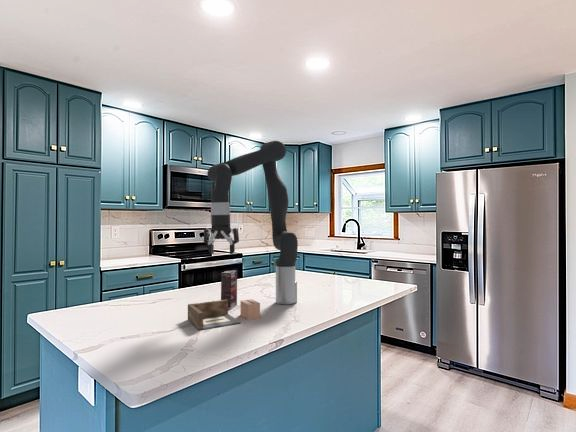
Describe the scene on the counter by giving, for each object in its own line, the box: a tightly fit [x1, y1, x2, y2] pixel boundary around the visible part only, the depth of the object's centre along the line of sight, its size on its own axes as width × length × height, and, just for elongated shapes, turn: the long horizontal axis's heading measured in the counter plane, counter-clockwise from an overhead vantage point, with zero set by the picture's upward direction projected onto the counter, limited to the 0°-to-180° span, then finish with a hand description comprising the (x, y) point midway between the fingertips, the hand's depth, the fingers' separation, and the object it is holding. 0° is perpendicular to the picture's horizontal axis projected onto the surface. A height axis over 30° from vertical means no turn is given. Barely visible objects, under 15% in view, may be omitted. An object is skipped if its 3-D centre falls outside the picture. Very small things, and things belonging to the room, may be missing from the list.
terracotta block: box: [240, 298, 261, 321], centre depth 145 cm, size 5×8×6 cm, turn 30°
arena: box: [187, 299, 242, 331], centre depth 137 cm, size 16×15×6 cm
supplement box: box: [220, 269, 238, 311], centre depth 159 cm, size 9×5×16 cm, turn 168°
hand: (221, 253), depth 145 cm, fingers open, 8 cm apart
